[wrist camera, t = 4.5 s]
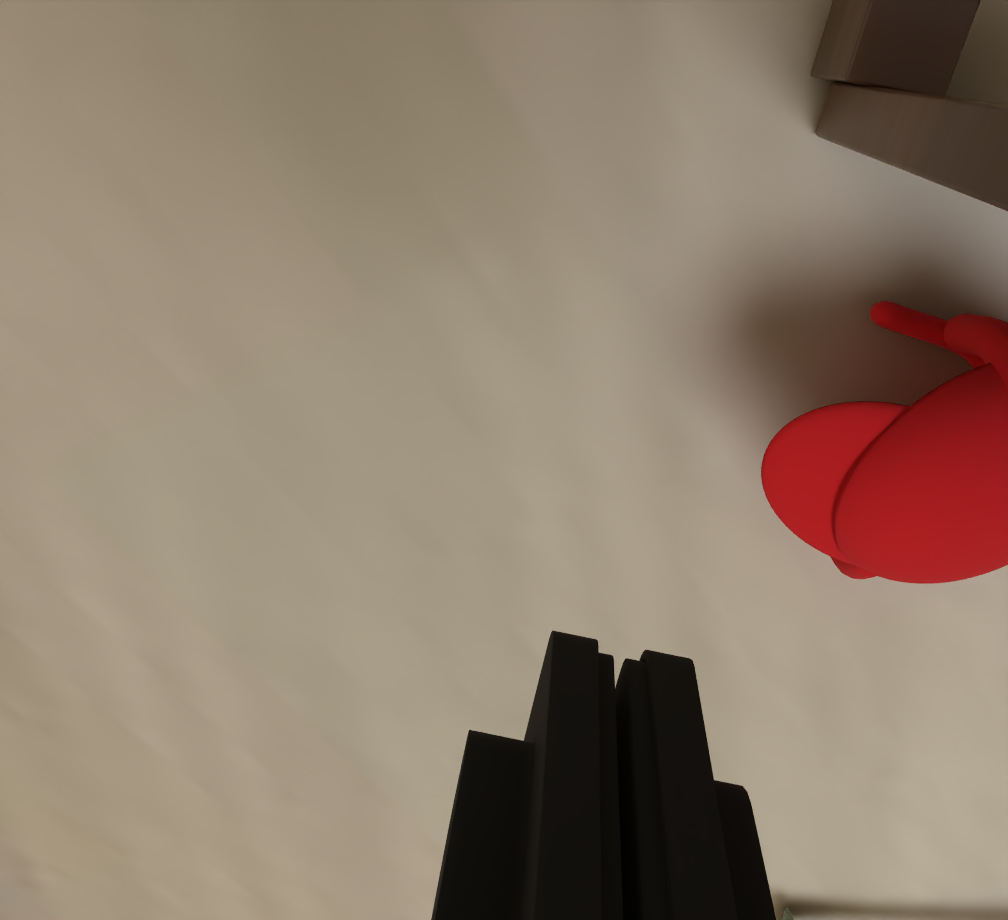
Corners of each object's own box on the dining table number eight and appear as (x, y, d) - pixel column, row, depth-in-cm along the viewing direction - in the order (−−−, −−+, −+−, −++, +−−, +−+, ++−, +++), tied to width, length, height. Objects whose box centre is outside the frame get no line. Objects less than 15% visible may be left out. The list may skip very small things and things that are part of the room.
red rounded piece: (1060, 268, 21) (1224, 344, 16) (1038, 484, 23) (1173, 616, 18) (725, 314, 22) (768, 399, 17) (738, 515, 25) (779, 646, 19)
